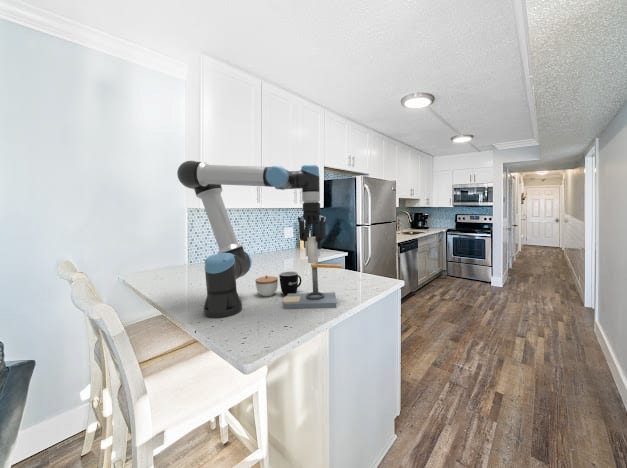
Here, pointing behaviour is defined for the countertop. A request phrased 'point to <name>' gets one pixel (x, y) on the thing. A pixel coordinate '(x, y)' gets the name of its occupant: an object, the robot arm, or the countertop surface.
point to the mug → (289, 282)
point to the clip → (325, 266)
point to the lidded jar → (266, 285)
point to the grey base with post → (310, 297)
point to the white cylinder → (311, 250)
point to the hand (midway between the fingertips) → (312, 256)
